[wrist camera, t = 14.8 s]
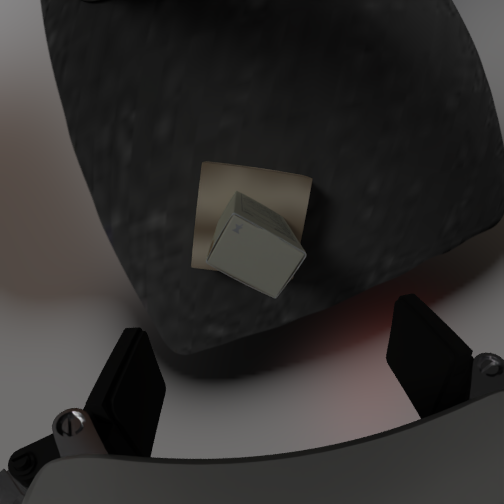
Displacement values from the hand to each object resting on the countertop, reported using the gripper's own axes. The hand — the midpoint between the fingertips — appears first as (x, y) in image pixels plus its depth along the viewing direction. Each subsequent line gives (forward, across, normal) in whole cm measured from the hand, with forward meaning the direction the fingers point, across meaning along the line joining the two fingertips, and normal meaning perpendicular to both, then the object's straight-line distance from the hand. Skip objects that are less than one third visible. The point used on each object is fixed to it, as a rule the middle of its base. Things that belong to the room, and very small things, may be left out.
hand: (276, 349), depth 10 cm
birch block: (+28, 0, +1) cm, 28 cm away
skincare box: (+23, 0, +1) cm, 23 cm away
